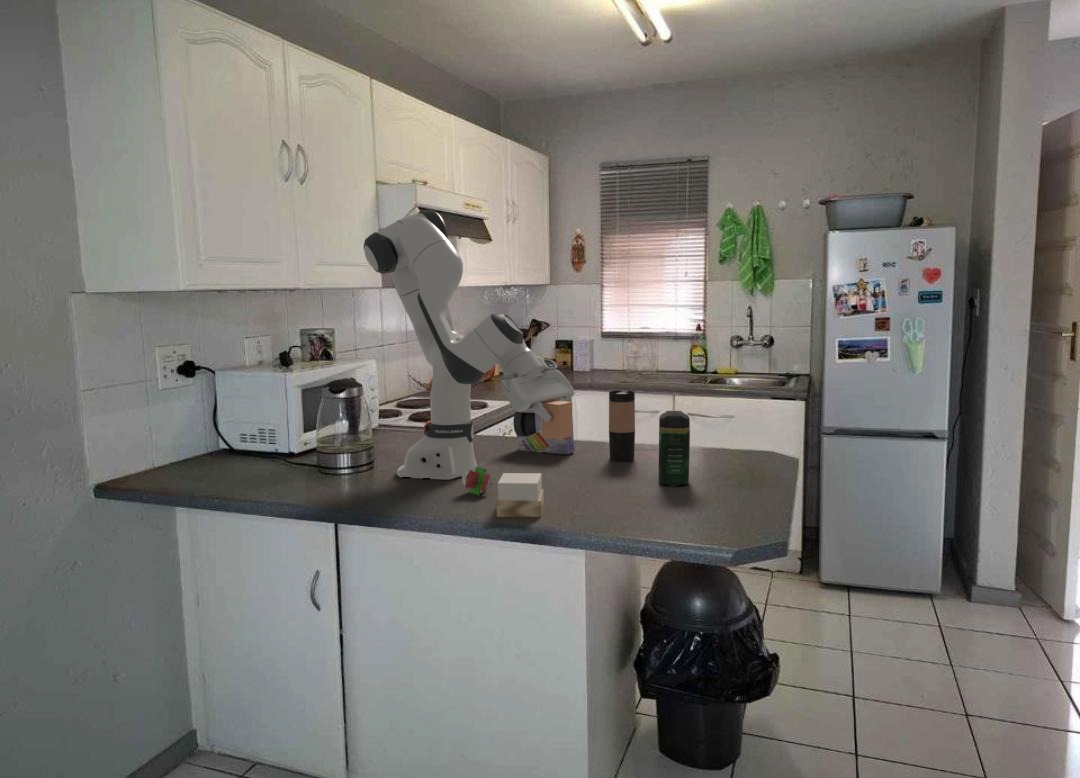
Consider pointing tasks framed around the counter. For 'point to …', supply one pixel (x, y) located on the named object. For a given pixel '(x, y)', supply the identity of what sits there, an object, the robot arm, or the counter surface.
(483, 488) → the geometric puzzle
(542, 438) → the cake pan box
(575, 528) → the counter surface
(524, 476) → the tower top
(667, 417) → the coffee jar
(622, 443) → the travel mug
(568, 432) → the pillar
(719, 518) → the counter surface
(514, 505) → the tower base
